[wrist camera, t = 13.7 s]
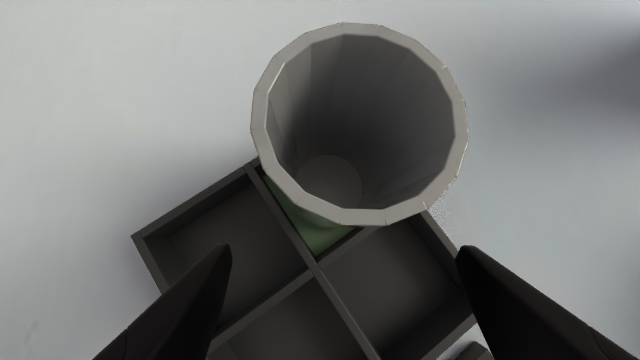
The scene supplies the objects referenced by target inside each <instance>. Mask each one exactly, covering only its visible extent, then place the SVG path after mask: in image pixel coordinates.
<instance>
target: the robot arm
mask: <svg viewBox="0 0 640 360" xmlns="http://www.w3.org/2000/svg"><path fill="white" fill-rule="evenodd" d="M232 262H233V258H232V254H231V249H230V246H229V244H227V243H218V244H216V245H215V246H214V247H213V248H212V249H211V250H209V251H208V252H207V253H206V254H205V255H204V256H203V257H202V258H201V259H200V260H199V261H198V262H197V263H196V264H195V265H193V266H192V267H191V268H190V269H189V270H188V271H187V272H186V273H185V274H184V275H183V276H182V277H181V278H180V279H178V280H177V281H176V282H175V283H174V284H173V285H172V286H171V287H170V288H169V289H168V290H167V291H166V292H165V293H163V294H162V295H161V296H160V297H159V298H158V299H157V300H156V301H155V302H154V303H153V304H152V305H151V306H150V307H149V308H147V309H146V310H145V311H144V312H143V313H142V314H141V315H140V316H139V317H138V318H137V319H136V320H135V321H134V322H132V323H131V324H130V325H129V326H128V328H127V329H125V330H124V331H123V332H122V333H121V334H120V335H118V336H117V337H116V338H115V339H114V340H113V341H112V342H111V343H110V344H109V345H108V346H106V347H105V348H104V349H103V350H102V351H101V352H100V353H99V354H98V355H97V356H95V357H94V358H93V359H92V360H205V359H206V356H207V353H208V350H209V347H210V344H211V341H212V338H213V335H214V332H215V329H216V326H217V323H218V320H219V317H220V314H221V310H222V307H223V304H224V300H225V295H226V291H227V286H228V281H229V277H230V272H231V267H232ZM455 267H456V269H457V272H458V275H459V278H460V281H461V284H462V287H463V289H464V292H465V295H466V298H467V300H468V303H469V305H470V308H471V310H472V312H473V314H474V316H475V319H476V321H477V323H478V325H479V327H480V329H481V331H482V334H483V336H484V338H485V340H486V342H487V344H488V347H489V349H490V351H491V353H492V355H493V357H494V359H495V360H639V359H638V358H636V357H634V356H633V355H631V354H630V353H628V352H627V351H625V350H624V349H622V348H621V347H620V346H618V345H617V344H615V343H614V342H612V341H611V340H609V339H608V338H606V337H605V336H603V335H602V334H601V333H599V332H598V331H596V330H595V329H593V328H592V327H590V326H588V325H587V324H586V323H585V322H583V321H582V320H580V319H579V318H577V317H576V316H575V315H573V314H572V313H570V312H569V311H567V310H566V309H564V308H563V307H562V306H560V305H559V304H557V303H556V302H554V301H553V300H552V299H550V298H549V297H547V296H546V295H544V294H543V293H541V292H540V291H539V290H537V289H536V288H534V287H533V286H531V285H530V284H529V283H527V282H526V281H524V280H523V279H521V278H520V277H518V276H517V275H516V274H514V273H513V272H511V271H510V270H508V269H507V268H505V267H504V266H503V265H501V264H500V263H498V262H497V261H495V260H494V259H493V258H491V257H490V256H488V255H487V254H485V253H484V252H482V251H481V250H480V249H478V248H477V247H475V246H471V245H464V246H462V247H461V248H460V250H459V252H458V254H457V256H456V258H455Z"/></svg>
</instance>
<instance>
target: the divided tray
mask: <svg viewBox="0 0 640 360" xmlns="http://www.w3.org/2000/svg"><path fill="white" fill-rule="evenodd" d="M131 238H132V240H133V242H134V244H135V245H136V247H137V249H138V251H139V253H140V255H141V257H142V258H143V260H144V262H145V264H146V266H147V268H148V270H149V271H150V273H151V275H152V277H153V279H154V281H155V283H156V284H157V286H158V288H159V290H160V292H161V294H163V293H165V292H166V291H167V290H168V289H169V288H170V287H171V286H172V285H173V284H174V283H175V282H176V281H177V280H178V279H180V278H181V277H182V276H183V275H184V274H185V273H186V272H187V271H188V270H189V269H190V268H191V267H192V266H193V265H195V264H196V263H197V262H198V261H199V260H200V259H201V258H202V257H203V256H204V255H205V254H206V253H207V252H208V251H209V250H211V249H212V248H213V247H214V246H215V245H216V244H218V243H227V244H229V246H230V249H231V254H232V258H233V262H232V267H231V272H230V277H229V281H228V286H227V291H226V295H225V300H224V304H223V307H222V310H221V314H220V317H219V320H218V323H217V326H216V329H215V332H214V335H213V338H212V341H211V344H210V347H209V350H208V353H207V356H206V359H205V360H436V359H437V358H438V357H439V356H440V355H441V354H442V353H443V352H444V351H446V350H447V349H448V348H449V347H450V346H451V345H452V344H453V343H454V342H456V341H457V340H458V339H459V338H460V337H461V336H462V335H463V334H464V333H466V332H467V331H468V330H469V329H470V328H471V327H472V326H473V325H475V324H476V323H477V321H476V319H475V316H474V314H473V312H472V310H471V308H470V305H469V303H468V300H467V298H466V295H465V292H464V289H463V287H462V284H461V281H460V278H459V275H458V272H457V269H456V267H455V258H456V256H457V254H458V252H459V251H458V250H457V249H456V248H455V246H454V245H453V244H452V242H451V241H450V240H449V238H448V237H447V236H446V235H445V233H444V232H443V231H442V229H441V228H440V227H439V225H438V224H437V223H436V221H435V220H434V219H433V218H432V216H431V215H430V214H429V212H428V211H427V210H425V211H423V212H420V213H418V214H415V215H413V216H410V217H408V218H405V219H403V220H400V221H398V222H395V223H393V224H390V225H388V226H380V227H357V228H318V227H316V226H314V225H311V224H309V223H307V222H305V221H304V220H303V219H302V218H301V217H300V216H299V215H298V214H297V213H296V212H295V211H294V209H293V208H292V207H291V206H290V204H289V203H288V202H287V200H286V199H285V198H284V197H283V195H282V194H281V193H280V191H279V190H278V189H277V188H276V186H275V185H274V184H273V182H272V181H271V180H270V178H269V177H268V176H267V175H266V173H265V171H264V170H263V168H262V165H261V162H260V159H259V156H258V157H256V158H255V159H253V160H252V161H250V162H248V163H247V164H245V165H244V166H243V167H240V168H239V169H237V170H236V171H234V172H232V173H231V174H229V175H228V176H226V177H224V178H223V179H221V180H219V181H218V182H216V183H215V184H213V185H211V186H210V187H208V188H207V189H205V190H203V191H202V192H200V193H199V194H197V195H195V196H194V197H192V198H191V199H189V200H187V201H186V202H184V203H183V204H181V205H179V206H178V207H176V208H174V209H173V210H171V211H170V212H168V213H166V214H165V215H163V216H162V217H160V218H158V219H157V220H155V221H154V222H152V223H150V224H149V225H147V226H146V227H144V228H142V229H141V230H139V231H137V232H136V233H134V234H133V235H131Z"/></svg>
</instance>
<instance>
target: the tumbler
mask: <svg viewBox="0 0 640 360" xmlns="http://www.w3.org/2000/svg"><path fill="white" fill-rule="evenodd" d="M250 130H251V131H250V133H251V136H252V139H253V141H254V144H255V147H256V150H257V153H258V156H259V159H260V162H261V165H262V168H263V170H264V171H265V173H266V175H267V176H268V177H269V178H270V180H271V181H272V182H273V184H274V185H275V186H276V188H277V189H278V190H279V191H280V193H281V194H282V195H283V197H284V198H285V199H286V200H287V202H288V203H289V204H290V206H291V207H292V208H293V209H294V211H295V212H296V213H297V214H298V215H299V216H300V217H301V218H302V219H303V220H304V221H305V222H307V223H309V224H311V225H314V226H316V227H318V228H357V227H380V226H388V225H390V224H393V223H395V222H398V221H400V220H403V219H405V218H408V217H410V216H413V215H415V214H418V213H420V212H423V211H425V210H426V209H428V208H429V207H430V206H431V205H432V204H433V203H434V202H435V201H436V200H437V199H438V198H439V197H440V196H441V195H442V194H443V193H444V191H445V190H446V189H447V188H448V187H449V186H450V185H451V184H452V183H453V182H454V181H455V180H456V178H457V176H458V173H459V170H460V167H461V164H462V161H463V158H464V154H465V151H466V148H467V145H468V142H469V132H468V123H467V114H466V105H465V101H464V98H463V96H462V94H461V92H460V90H459V89H458V87H457V85H456V83H455V81H454V79H453V78H452V76H451V74H450V72H449V70H448V68H447V67H445V64H443V63H442V62H441V61H440V60H439V59H438V58H437V57H435V56H434V55H433V54H432V53H431V52H430V51H429V50H427V49H426V48H425V47H424V46H423V45H422V44H421V43H420V42H418V41H416V40H415V39H413V38H411V37H408V36H406V35H403V34H401V33H399V32H396V31H394V30H391V29H389V28H386V27H384V26H382V25H374V24H358V23H337V24H334V25H330V26H327V27H323V28H320V29H316V30H313V31H309V32H306V33H304V34H302V35H301V36H299V37H298V38H297V39H295V40H294V41H293V42H291V43H290V44H289V45H287V46H286V47H285V48H283V49H282V50H281V51H279V52H278V53H277V54H275V55H274V57H272V59H271V61H270V63H269V64H268V66H267V68H266V70H265V71H264V73H263V75H262V77H261V78H260V80H259V82H258V84H257V85H256V87H255V89H254V92H253V102H252V113H251V123H250Z"/></svg>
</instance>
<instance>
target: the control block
mask: <svg viewBox="0 0 640 360" xmlns="http://www.w3.org/2000/svg"><path fill="white" fill-rule="evenodd" d="M455 360H495V359H494V357H493V356H492V355H491V353H490V352H489V351H488V349H487V348H485V347H484V346H482V345H481V344H479V343H478V342H476V341H475V342H474V343H473V344H472V345H470V346H469V347H468V348H467V349H466V350H465V351H464V352H463V353H462V354H461V355H460V356H458V357H457V358H456V359H455Z"/></svg>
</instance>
